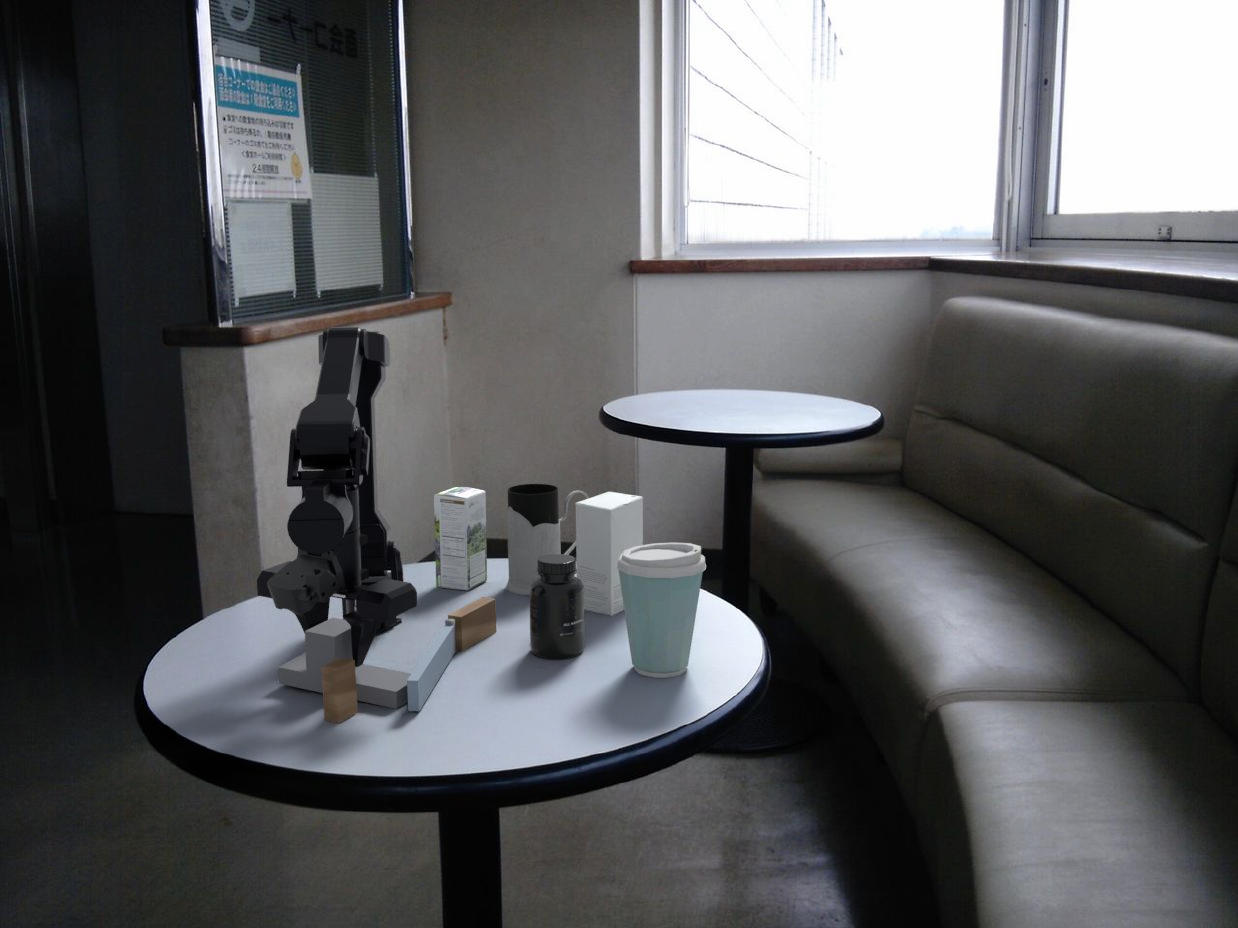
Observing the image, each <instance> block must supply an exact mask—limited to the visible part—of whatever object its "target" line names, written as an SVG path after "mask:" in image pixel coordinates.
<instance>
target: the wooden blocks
mask: <svg viewBox="0 0 1238 928" xmlns="http://www.w3.org/2000/svg"><path fill="white" fill-rule="evenodd" d="M496 602H497V601H496V598H492V597H491V598H490V597H484V596H482V597H480V598H478V599H475V600H474V601H472V602H471V603H468V604H466V605H464V606H462V607H460V608H458V609H456V610H455V611H453V612H451V613H449V614H448V615H447V619H455V633H456V651H458V652H464V651H466V650H467V649H469V648H470V647H473V646H474V645H476V644H478V643H480V642H481V641H483V640H485V639H486V638H488V637H490V636H491V635H493V634H495V633H497V607H496ZM321 670H322V686H323V693H322V698H323V701H322V702H323V709H324V710H323V713H324V714H323V715H324V720H325V721H327V722H328V721H329V722H332V723H338V724H341V723H342V722H345V720H347V719H349V718H351V717H353V716H354V715H356V714H357V713H358V700H357V692H356V675H355V660H350V659H345V658H338V659H336V660H334V661H332V662H330V663H328V664H326V665H324V666H322V667H321Z"/></svg>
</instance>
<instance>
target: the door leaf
mask: <svg viewBox="0 0 1238 928" xmlns="http://www.w3.org/2000/svg"><path fill="white" fill-rule="evenodd" d="M444 623H445V624H444V625H443V627H442V628H441V629H440V631H439V632H438V634H437V636H435V639H434V640H433V641H432V643H431V644H430V646H429V647H428V649H427V650H426V652H425V653H424V654H423V656H422V657H421V659H420V660H419V662H418V663H417V664H416V666H415V668H414V669H413V671H412V672H411V675H410V677H409V678H408V680H407V692H408V701H407V708H408V709H407V710H408V712H420V711H421V709H422V707H423V706H424V704H425V702H426V701H427V699H428V698H429V696H430V694H431V693H432V691H433V690H434V688H435V686H436V685H437V683H438V681H439V680H440V678H441V676H442V675H443V673H444V671H445V670H446V668H447V667H448V664H449V663H450V662H451V660H452V658H453V657H454V655H455V654H456V653H455V652H457V650H456V633H455V619H448V618H447V619H445V621H444Z"/></svg>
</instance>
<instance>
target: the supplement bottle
mask: <svg viewBox="0 0 1238 928" xmlns="http://www.w3.org/2000/svg"><path fill="white" fill-rule="evenodd" d="M537 574H538V575H539V577H538V578H536V579H535V580H534V581H533V582H532V583H531V585H530V595H529V640H530V642H529V643H530V645H529V647H530V650H531V652H532V654H534V655H535V656H537V657H539V658H542V659H549V660H565V659H570V658H574V657H577V656H579V655H580V654H581V653H582V652H583V651H584V648H585V610H584V585H583V583H582V582H581V580H580V579H578V578H577V576H576V575H577V568H576V556H575V557H574V556H573V555H570V554H569V555H565V553H563V554H562V553H561V554H550V555H544V556H541V557H539V558H538V560H537Z"/></svg>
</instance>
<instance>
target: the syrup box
mask: <svg viewBox="0 0 1238 928" xmlns="http://www.w3.org/2000/svg"><path fill="white" fill-rule="evenodd" d="M486 501H487V498H486V491H485V490H484V489H479V488H473V487H466V486H461V487H460V486H458V487H455V486H454V487H452V488H450V489H446V490H444V491H440V492H439V493H435V494H433V509H434V510H433V511H434V513H433V515H434V516H433V517H434V553H435V586H436V587H437V588H444V589H451V590H461V591H470V590H471V589H474V588H475V587H477V586H479V585H481V584H483V583H484V582H486V581H487V580H488V569H487V568H488V565H487V564H488V562H487V560H488V558H487V555H488V554H487V514H486V513H487V510H486V509H487V506H486V505H487V503H486Z"/></svg>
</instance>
